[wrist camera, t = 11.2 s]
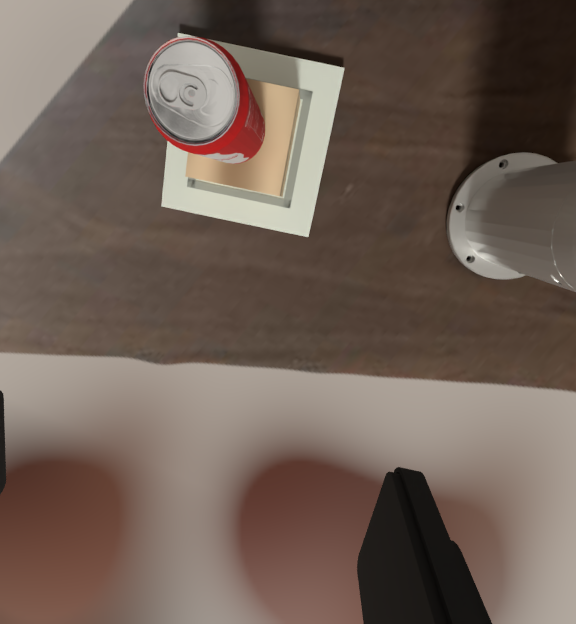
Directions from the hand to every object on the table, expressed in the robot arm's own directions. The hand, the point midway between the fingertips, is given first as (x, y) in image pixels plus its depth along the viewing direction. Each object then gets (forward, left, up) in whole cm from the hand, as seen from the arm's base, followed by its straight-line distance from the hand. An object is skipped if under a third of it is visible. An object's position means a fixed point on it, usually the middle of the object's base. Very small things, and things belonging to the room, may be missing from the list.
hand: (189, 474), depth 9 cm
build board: (+6, -11, -34) cm, 37 cm away
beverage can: (+6, -11, -29) cm, 32 cm away
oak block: (+6, -11, -33) cm, 35 cm away
